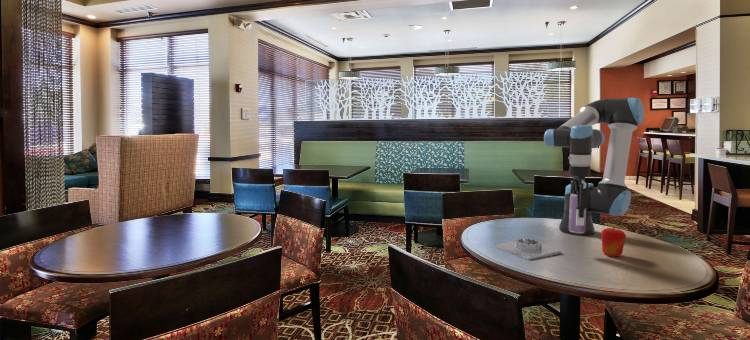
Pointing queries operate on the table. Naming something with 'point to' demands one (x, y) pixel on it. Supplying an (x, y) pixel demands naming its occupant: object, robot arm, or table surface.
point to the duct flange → (528, 248)
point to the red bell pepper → (613, 241)
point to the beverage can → (572, 216)
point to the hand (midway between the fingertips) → (577, 222)
